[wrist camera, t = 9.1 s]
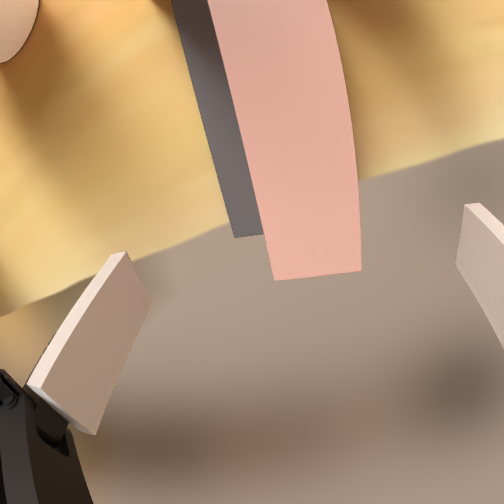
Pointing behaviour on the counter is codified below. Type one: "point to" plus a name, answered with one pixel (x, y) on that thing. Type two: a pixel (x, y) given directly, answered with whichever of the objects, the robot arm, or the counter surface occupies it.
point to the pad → (218, 114)
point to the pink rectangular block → (294, 131)
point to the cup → (15, 25)
